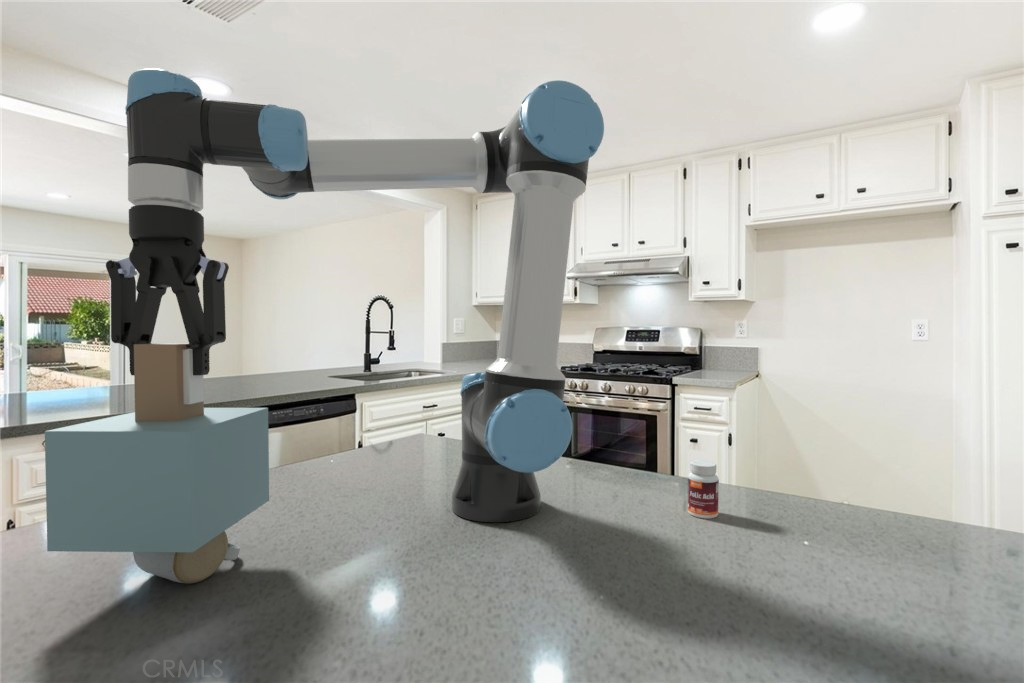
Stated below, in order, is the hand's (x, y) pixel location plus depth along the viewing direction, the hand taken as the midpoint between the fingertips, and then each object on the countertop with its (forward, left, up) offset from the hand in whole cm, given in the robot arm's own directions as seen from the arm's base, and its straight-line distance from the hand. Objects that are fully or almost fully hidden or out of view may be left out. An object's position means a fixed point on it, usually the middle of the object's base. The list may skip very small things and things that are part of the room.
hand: (170, 402), depth 63 cm
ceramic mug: (-1, -2, -22) cm, 22 cm away
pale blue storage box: (0, 0, -15) cm, 15 cm away
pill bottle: (-72, -23, -22) cm, 79 cm away
